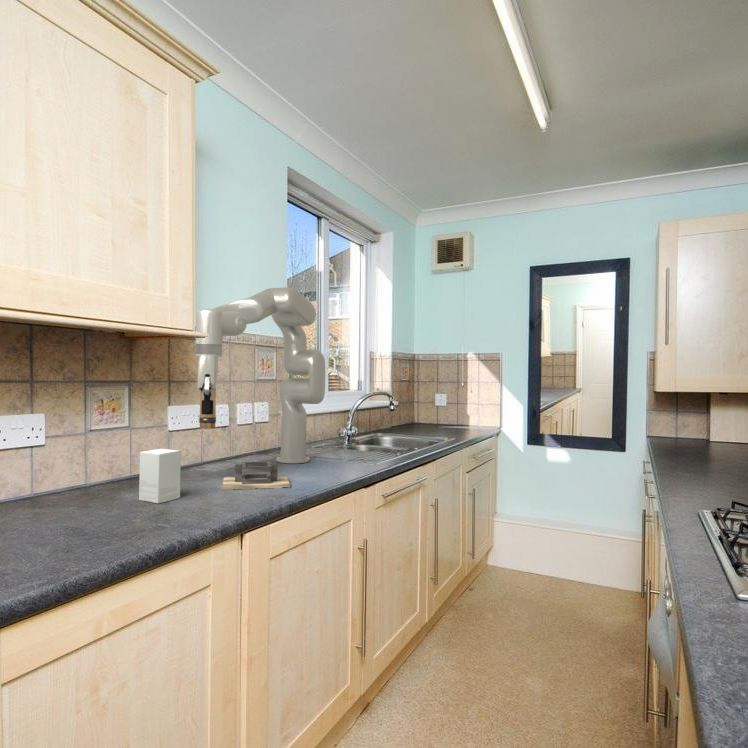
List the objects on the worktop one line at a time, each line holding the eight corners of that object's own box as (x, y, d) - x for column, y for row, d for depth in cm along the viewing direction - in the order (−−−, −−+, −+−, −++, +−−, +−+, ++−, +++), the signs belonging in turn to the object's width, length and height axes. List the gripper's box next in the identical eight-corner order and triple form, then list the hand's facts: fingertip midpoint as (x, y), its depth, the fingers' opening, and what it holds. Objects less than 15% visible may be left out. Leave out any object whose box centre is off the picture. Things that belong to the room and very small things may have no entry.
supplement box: (181, 498, 133) (182, 450, 133) (157, 504, 126) (158, 454, 126) (161, 494, 136) (162, 447, 136) (137, 500, 130) (138, 451, 130)
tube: (199, 426, 149) (200, 386, 149) (216, 426, 151) (216, 386, 151) (198, 428, 145) (199, 387, 145) (215, 428, 146) (216, 387, 146)
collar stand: (223, 480, 155) (224, 461, 155) (285, 478, 160) (286, 459, 160) (222, 490, 143) (222, 469, 143) (290, 487, 148) (290, 467, 148)
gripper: (197, 351, 155) (196, 411, 155) (192, 350, 138) (191, 416, 139) (223, 352, 157) (222, 411, 157) (221, 351, 140) (220, 416, 141)
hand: (207, 412), depth 148 cm, fingers closed on tube, 4 cm apart
